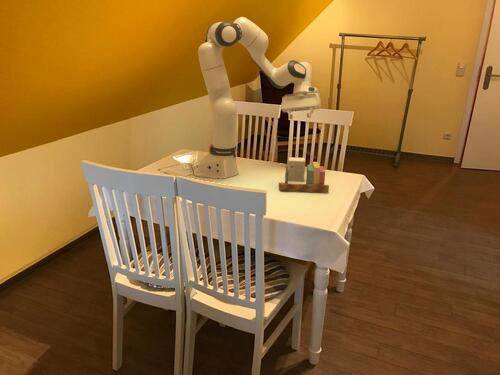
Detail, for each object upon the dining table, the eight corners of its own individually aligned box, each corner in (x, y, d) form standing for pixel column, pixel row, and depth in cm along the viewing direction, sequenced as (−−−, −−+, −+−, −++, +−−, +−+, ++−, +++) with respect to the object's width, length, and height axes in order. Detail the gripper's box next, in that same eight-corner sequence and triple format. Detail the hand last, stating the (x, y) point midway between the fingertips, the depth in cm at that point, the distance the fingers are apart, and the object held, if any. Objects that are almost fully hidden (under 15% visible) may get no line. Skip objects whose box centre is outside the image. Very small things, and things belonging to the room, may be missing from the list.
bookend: (278, 190, 194) (279, 171, 191) (278, 183, 202) (279, 165, 199) (287, 190, 194) (288, 172, 191) (287, 184, 202) (287, 166, 199)
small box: (303, 177, 210) (305, 157, 207) (304, 181, 205) (305, 161, 201) (287, 177, 211) (288, 156, 207) (287, 181, 206) (288, 160, 202)
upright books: (307, 191, 194) (308, 167, 189) (305, 184, 201) (307, 161, 197) (323, 191, 193) (325, 167, 189) (321, 185, 201) (323, 162, 197)
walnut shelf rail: (279, 191, 193) (280, 184, 192) (279, 190, 194) (280, 183, 193) (328, 193, 192) (329, 186, 190) (328, 192, 193) (328, 184, 192)
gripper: (280, 92, 215) (277, 116, 211) (319, 87, 206) (317, 113, 202) (284, 98, 220) (282, 122, 216) (323, 94, 212) (321, 119, 208)
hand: (299, 117), depth 209 cm, fingers open, 8 cm apart
